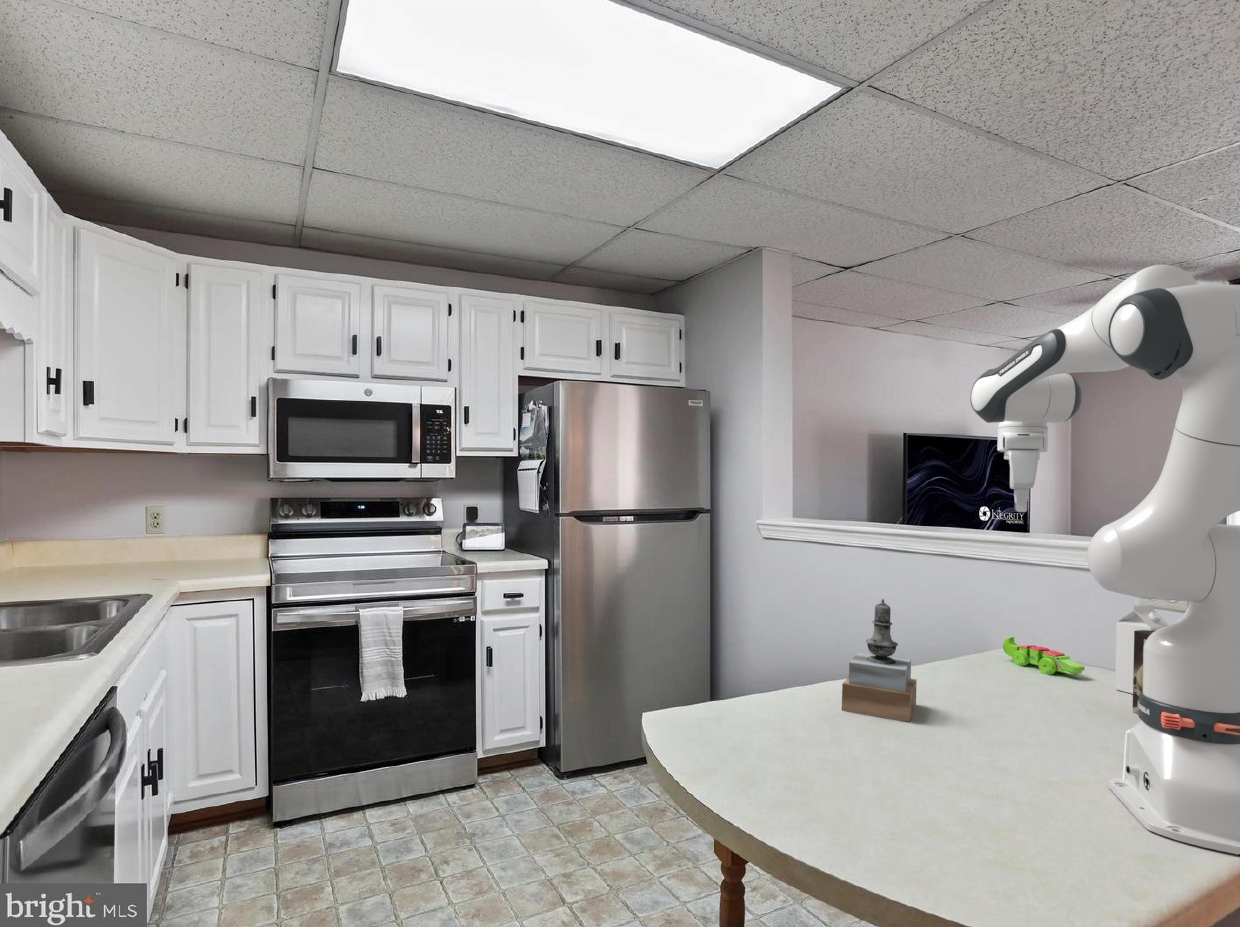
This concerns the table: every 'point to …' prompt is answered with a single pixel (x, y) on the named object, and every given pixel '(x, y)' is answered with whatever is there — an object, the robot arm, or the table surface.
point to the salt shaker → (881, 637)
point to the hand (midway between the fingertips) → (1020, 511)
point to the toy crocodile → (1041, 658)
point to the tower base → (880, 688)
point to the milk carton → (1132, 642)
